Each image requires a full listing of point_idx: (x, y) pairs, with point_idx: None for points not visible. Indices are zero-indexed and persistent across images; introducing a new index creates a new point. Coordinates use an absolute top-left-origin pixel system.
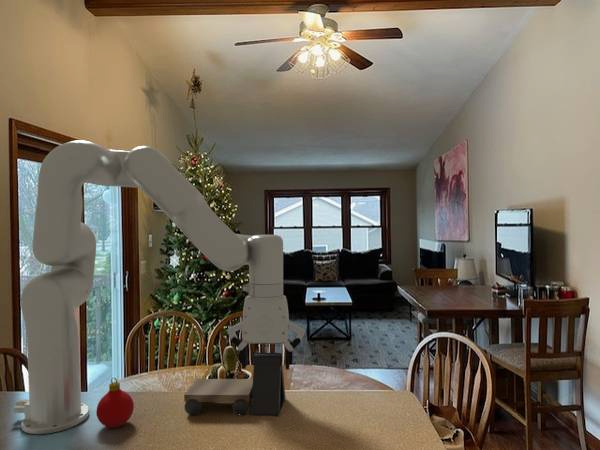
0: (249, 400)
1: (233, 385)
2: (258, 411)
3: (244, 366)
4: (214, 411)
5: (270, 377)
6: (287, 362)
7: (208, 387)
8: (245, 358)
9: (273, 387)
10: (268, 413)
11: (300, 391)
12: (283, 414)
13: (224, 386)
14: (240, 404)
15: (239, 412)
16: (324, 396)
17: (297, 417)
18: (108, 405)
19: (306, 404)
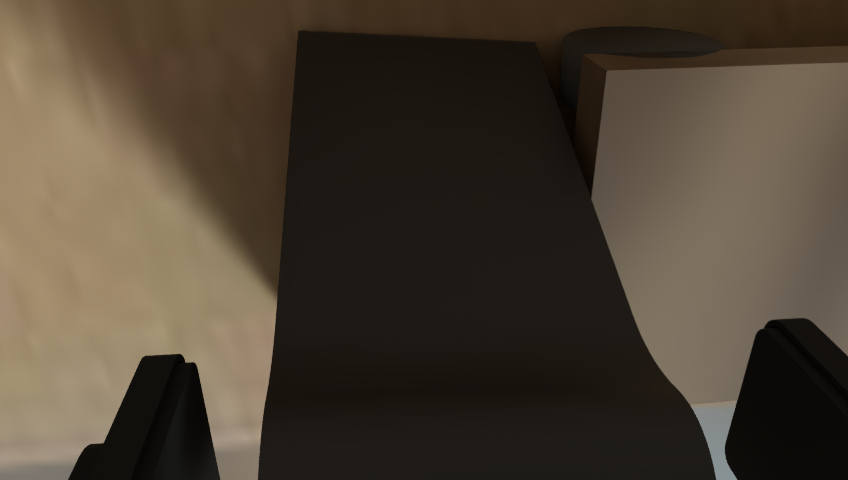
0: (580, 83)
1: (756, 277)
2: (476, 48)
3: (782, 335)
4: None
5: (401, 262)
6: (131, 421)
7: None
8: (830, 432)
9: (356, 183)
10: (387, 37)
11: (215, 436)
12: (264, 69)
13: (838, 250)
14: (653, 46)
15: (634, 29)
16: (6, 382)
17: (126, 17)
18: None
19: (113, 250)
